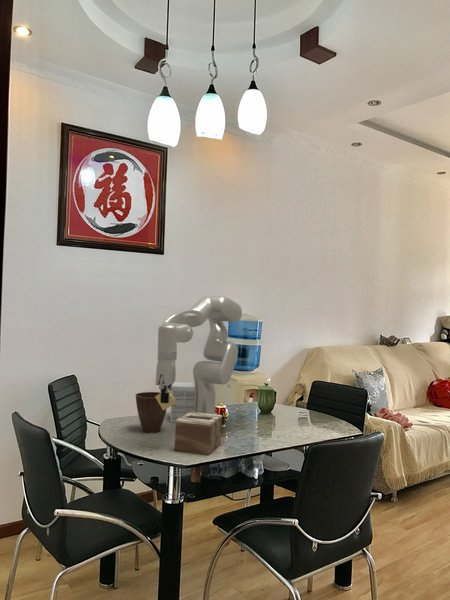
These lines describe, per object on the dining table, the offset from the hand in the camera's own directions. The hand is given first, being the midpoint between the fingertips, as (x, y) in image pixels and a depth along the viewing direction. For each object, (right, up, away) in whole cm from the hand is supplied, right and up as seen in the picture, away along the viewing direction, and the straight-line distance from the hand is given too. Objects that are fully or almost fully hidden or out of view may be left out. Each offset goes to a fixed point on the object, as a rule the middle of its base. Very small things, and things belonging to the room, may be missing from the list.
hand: (165, 401), depth 203 cm
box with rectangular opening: (+13, -18, +1) cm, 22 cm away
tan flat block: (+2, -2, -1) cm, 3 cm away
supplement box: (+3, -19, +48) cm, 52 cm away
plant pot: (-9, -18, +25) cm, 32 cm away
